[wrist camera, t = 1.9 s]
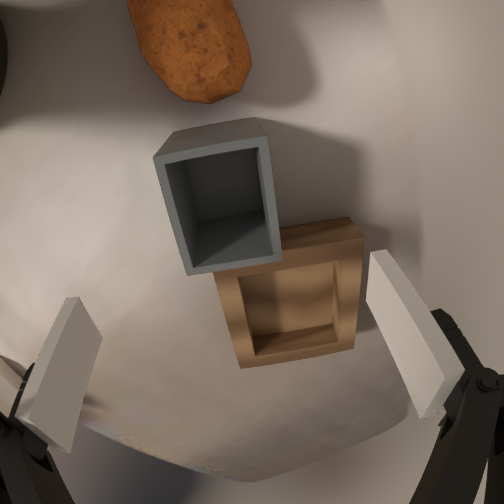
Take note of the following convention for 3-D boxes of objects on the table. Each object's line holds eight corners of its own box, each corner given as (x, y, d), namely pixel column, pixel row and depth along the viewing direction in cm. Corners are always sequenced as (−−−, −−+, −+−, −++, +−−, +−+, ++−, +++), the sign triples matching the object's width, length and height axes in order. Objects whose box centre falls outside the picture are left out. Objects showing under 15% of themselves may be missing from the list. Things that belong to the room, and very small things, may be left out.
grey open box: (173, 132, 25) (152, 157, 18) (256, 117, 25) (267, 135, 18) (195, 224, 30) (187, 275, 23) (269, 212, 30) (282, 260, 23)
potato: (178, 113, 24) (162, 128, 18) (124, -10, 17) (93, -31, 11) (260, 81, 23) (272, 85, 17) (206, -45, 16) (200, -78, 10)
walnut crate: (211, 238, 31) (210, 262, 27) (349, 217, 30) (363, 237, 27) (238, 343, 39) (240, 368, 36) (344, 325, 39) (353, 348, 35)
